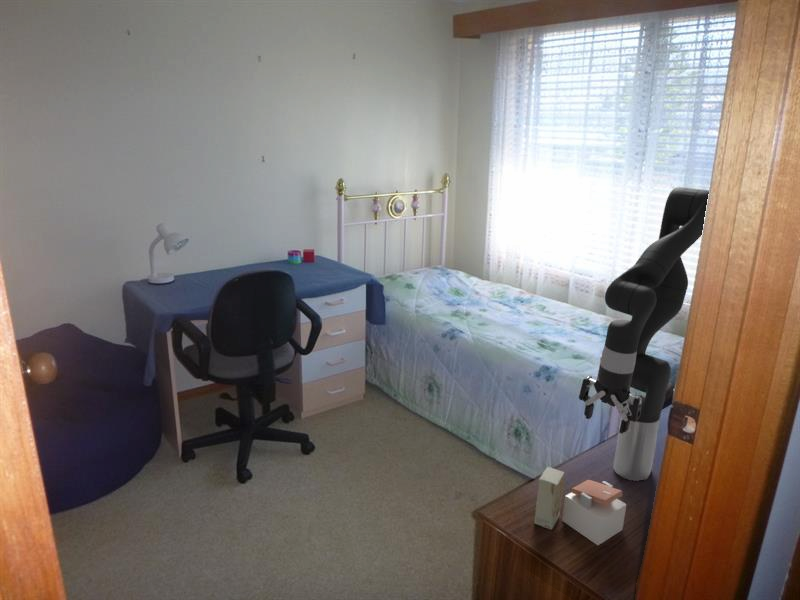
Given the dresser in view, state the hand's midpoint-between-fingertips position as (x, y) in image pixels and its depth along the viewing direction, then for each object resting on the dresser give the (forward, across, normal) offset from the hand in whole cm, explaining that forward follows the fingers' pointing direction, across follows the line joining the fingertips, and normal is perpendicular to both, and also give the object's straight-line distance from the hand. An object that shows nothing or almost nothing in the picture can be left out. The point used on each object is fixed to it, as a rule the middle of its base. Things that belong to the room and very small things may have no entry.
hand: (605, 424), depth 143 cm
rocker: (+12, -6, +12) cm, 18 cm away
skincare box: (+20, +3, +17) cm, 27 cm away
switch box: (+19, -6, +12) cm, 23 cm away
